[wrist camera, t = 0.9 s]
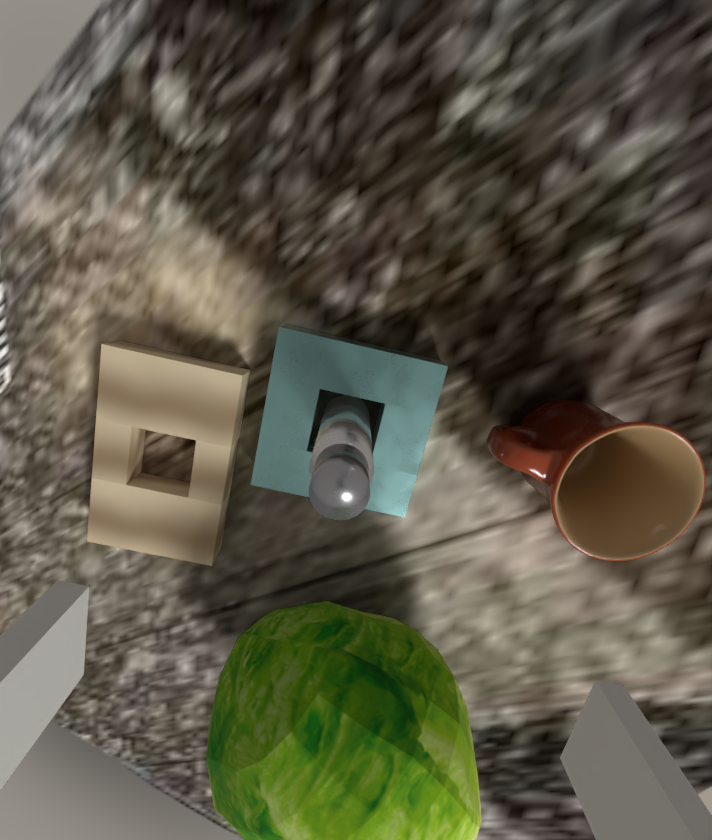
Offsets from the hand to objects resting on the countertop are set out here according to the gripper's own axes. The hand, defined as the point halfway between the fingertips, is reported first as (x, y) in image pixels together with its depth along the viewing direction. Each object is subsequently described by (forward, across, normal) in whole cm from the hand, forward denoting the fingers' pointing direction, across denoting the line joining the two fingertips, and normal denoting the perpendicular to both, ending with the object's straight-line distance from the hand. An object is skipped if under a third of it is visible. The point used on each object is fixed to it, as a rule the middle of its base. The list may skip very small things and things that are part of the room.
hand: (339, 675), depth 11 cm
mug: (+25, +15, +2) cm, 29 cm away
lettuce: (+25, +5, -22) cm, 34 cm away
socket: (+25, 0, 0) cm, 25 cm away
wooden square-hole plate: (+25, -14, -6) cm, 29 cm away
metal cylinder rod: (+25, 0, 0) cm, 25 cm away
